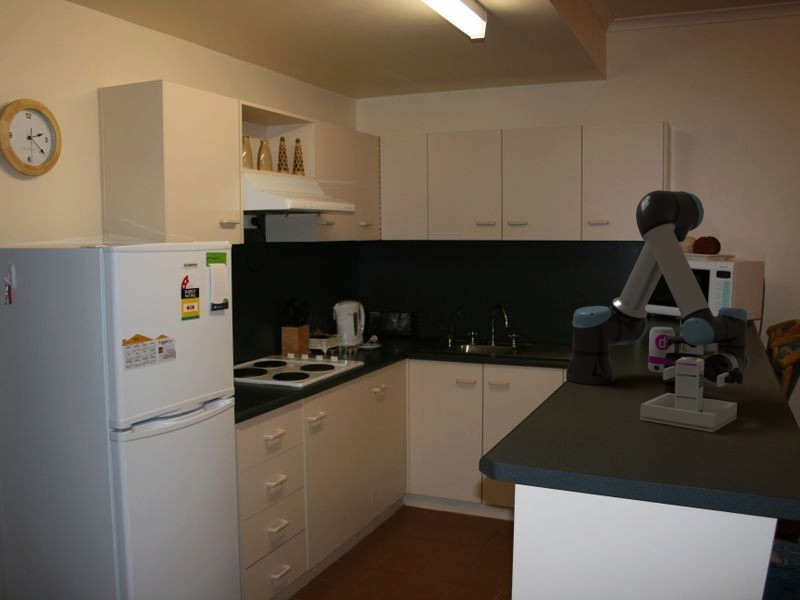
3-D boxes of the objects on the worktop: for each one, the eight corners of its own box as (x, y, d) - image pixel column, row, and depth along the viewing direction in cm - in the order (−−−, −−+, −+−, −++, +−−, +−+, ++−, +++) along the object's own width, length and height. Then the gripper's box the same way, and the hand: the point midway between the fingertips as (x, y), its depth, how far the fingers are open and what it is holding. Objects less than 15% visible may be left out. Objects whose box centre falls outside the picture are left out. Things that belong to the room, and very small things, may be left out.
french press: (695, 400, 213) (698, 320, 211) (660, 397, 217) (663, 318, 215) (698, 393, 223) (702, 316, 221) (665, 389, 227) (668, 314, 225)
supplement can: (675, 374, 253) (676, 329, 252) (649, 372, 255) (651, 329, 254) (671, 369, 261) (673, 326, 260) (646, 368, 263) (648, 326, 262)
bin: (640, 419, 191) (640, 404, 191) (666, 407, 205) (667, 392, 204) (713, 432, 179) (713, 415, 179) (736, 418, 193) (737, 403, 193)
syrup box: (697, 419, 188) (700, 361, 187) (673, 415, 191) (675, 359, 190) (703, 414, 193) (705, 358, 191) (679, 411, 196) (681, 356, 195)
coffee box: (703, 352, 299) (705, 312, 298) (703, 355, 293) (705, 314, 292) (679, 351, 302) (680, 311, 301) (678, 353, 297) (680, 313, 295)
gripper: (767, 387, 199) (741, 399, 183) (673, 374, 216) (643, 385, 200) (768, 359, 199) (743, 369, 183) (674, 348, 215) (644, 357, 199)
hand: (690, 378), depth 191 cm, fingers open, 13 cm apart
